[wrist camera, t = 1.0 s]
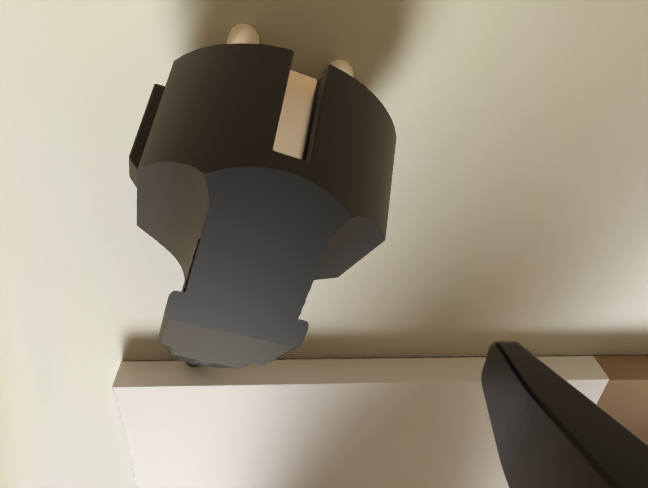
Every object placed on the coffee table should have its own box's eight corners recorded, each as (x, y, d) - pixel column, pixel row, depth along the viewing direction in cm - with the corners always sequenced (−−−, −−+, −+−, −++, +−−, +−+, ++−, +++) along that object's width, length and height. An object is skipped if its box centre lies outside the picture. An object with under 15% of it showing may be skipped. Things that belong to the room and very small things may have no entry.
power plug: (106, 365, 18) (61, 256, 7) (165, 176, 21) (197, -102, 10) (264, 395, 19) (429, 343, 8) (298, 214, 22) (451, 6, 11)
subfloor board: (725, 475, 26) (744, 499, 25) (151, 495, 23) (145, 522, 22) (824, 353, 21) (853, 376, 20) (121, 361, 19) (111, 387, 18)
